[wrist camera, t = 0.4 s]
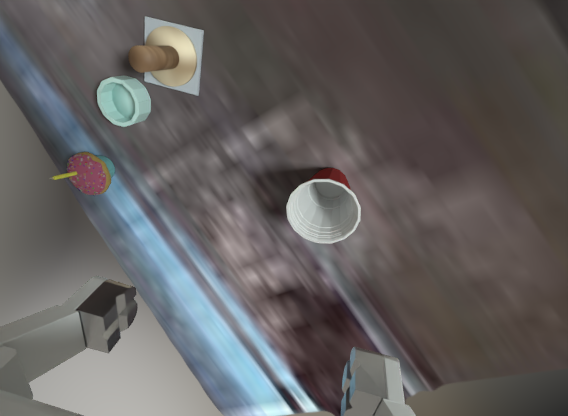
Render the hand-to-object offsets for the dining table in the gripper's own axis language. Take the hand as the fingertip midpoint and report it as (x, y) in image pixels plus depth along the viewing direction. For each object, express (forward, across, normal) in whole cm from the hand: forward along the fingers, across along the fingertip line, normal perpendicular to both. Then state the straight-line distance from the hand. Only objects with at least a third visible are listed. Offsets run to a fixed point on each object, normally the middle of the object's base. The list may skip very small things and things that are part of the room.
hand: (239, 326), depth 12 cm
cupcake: (+48, +42, +22) cm, 68 cm away
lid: (+48, +27, -1) cm, 55 cm away
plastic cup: (+46, -3, +14) cm, 48 cm away
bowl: (+48, +35, +8) cm, 60 cm away
